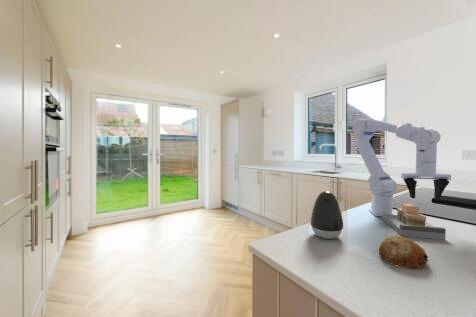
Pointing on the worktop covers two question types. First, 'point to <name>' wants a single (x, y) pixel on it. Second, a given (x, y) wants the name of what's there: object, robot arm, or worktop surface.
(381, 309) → the worktop surface
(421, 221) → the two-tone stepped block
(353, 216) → the worktop surface
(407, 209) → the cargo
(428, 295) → the worktop surface
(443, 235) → the dock
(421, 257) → the brown rounded lump
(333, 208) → the dark grey egg shape
